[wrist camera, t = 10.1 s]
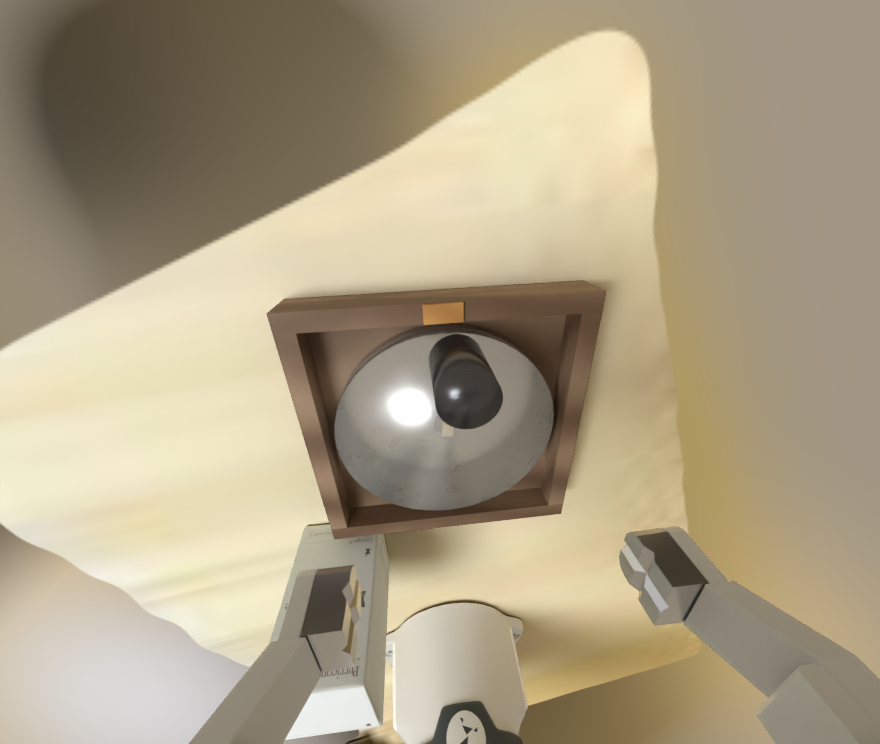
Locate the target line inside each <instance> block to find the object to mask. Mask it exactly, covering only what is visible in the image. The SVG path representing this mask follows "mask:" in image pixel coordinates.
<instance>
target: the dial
mask: <svg viewBox="0 0 880 744" xmlns="http://www.w3.org/2000/svg"><path fill="white" fill-rule="evenodd" d="M553 418H554V410H553V401H552V397H551V394H550V390H549V388H548V386H547V384H546V382H545V379H544V378H543V376H542V375H541V374H540V372H539V371H538V369H537V368H536V367H535V365H534V364H533V363H532V361H531V360H530V359H529V358H528V357H527V356H526V354H525V353H524V352H523V351H522V350H521V349H520V348H519V347H517V346H516V345H515V344H513V343H512V342H511V341H509V340H508V339H506V338H504V337H502V336H501V335H499V334H497V333H494V332H492V331H489V330H487V329H484V328H480V327H476V326H471V325H464V324H455V323H454V324H434V325H427V326H422V327H418V328H415V329H411V330H408V331H405V332H403V333H401V334H398V335H396V336H394V337H392V338H390V339H388V340H387V341H385V342H383V343H381V344H380V345H379V346H377V347H376V348H375V349H373V350H372V351H371V352H370V353H368V354H367V355H366V356H365V357H364V358H363V360H362V361H361V362H360V363H359V364H358V365H357V366H356V368H355V369H354V371H353V372H352V373H351V375H350V377H349V379H348V381H347V383H346V384H345V387H344V390H343V393H342V396H341V399H340V402H339V405H338V408H337V412H336V418H335V441H336V447H337V450H338V453H339V456H340V458H341V460H342V462H343V464H344V466H345V468H346V469H347V470H348V472H349V473H350V474H351V476H352V477H353V478H354V479H355V480H356V481H357V482H358V483H359V484H360V485H361V486H362V487H364V488H365V489H366V490H368V491H369V492H370V493H372V494H374V495H376V496H377V497H379V498H381V499H383V500H385V501H388V502H390V503H393V504H396V505H399V506H402V507H407V508H412V509H419V510H436V511H439V510H452V509H458V508H464V507H467V506H471V505H475V504H478V503H481V502H484V501H486V500H489V499H491V498H493V497H495V496H497V495H499V494H501V493H502V492H504V491H506V490H508V489H509V488H511V487H512V486H513V485H515V484H516V483H517V482H519V481H520V480H521V479H522V478H523V477H524V476H525V475H527V473H528V472H529V471H530V470H531V469H532V468H533V467H534V466H535V464H536V463H537V461H538V460H539V459H540V457H541V456H542V454H543V452H544V450H545V448H546V446H547V444H548V441H549V439H550V436H551V432H552V427H553Z"/></svg>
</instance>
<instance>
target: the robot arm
mask: <svg viewBox="0 0 880 744" xmlns="http://www.w3.org/2000/svg"><path fill="white" fill-rule="evenodd" d="M624 540H625V542H626V543H627V545H626V546H625V547H624V548H622V549H621V552H620V556H619V559H620V565H621V568H622V571H623V573H624V575H625V577H626V579H627V581H628V582H629V584H630V585H632V586H633V587H634V588H636V589H637V590H638V591H639V601H640V603H641V604H642V606H643V608H644V609H645V611H646V613H647V614H648V616H649V617H650V619H651V621H652V622H653V624H654V625H663V624H673V623H682V622H684V625H685V626H686V627H687V628H688V629H690V630H691V631H692V632H693V633H694V634H695V635H697V636H698V637H699V638H700V639H701V640H702V641H704V642H705V643H706V644H707V645H708V646H709V647H710V648H712V649H713V650H714V651H715V652H716V653H717V654H718V655H720V656H721V657H722V658H723V659H724V660H725V661H727V662H728V663H729V664H730V665H731V666H733V667H734V668H735V669H736V670H737V671H738V672H739V673H740V674H742V675H743V676H744V677H745V678H746V679H748V680H749V681H750V682H751V683H752V684H753V685H754V686H755V687H757V688H758V689H759V690H760V691H761V692H762V693H764V694H765V695H766V696H767V697H768V699H767V700H766V701H765V702H764V703H763V704H762V705H761V706H760V707H759V708H758V711H757V717H758V718H759V720H760V721H761V723H762V724H763V726H764V727H765V729H766V730H767V731H768V733H769V734H770V736H771V737H772V739H773V740H774V742H775V743H776V744H880V679H879V678H878V677H877V676H876V675H875V674H874V673H873V672H872V671H871V670H870V669H869V668H868V667H867V666H866V665H865V664H864V663H863V662H862V661H861V660H860V659H859V658H858V657H856V656H855V655H854V654H852V653H851V652H849V651H847V650H846V649H844V648H843V647H841V646H839V645H838V644H836V643H834V642H833V641H831V640H829V639H828V638H826V637H825V636H823V635H821V634H820V633H818V632H816V631H815V630H813V629H812V628H810V627H808V626H807V625H805V624H803V623H802V622H800V621H798V620H797V619H795V618H794V617H792V616H790V615H789V614H787V613H785V612H784V611H782V610H780V609H779V608H777V607H775V606H774V605H772V604H771V603H769V602H767V601H766V600H764V599H762V598H761V597H759V596H758V595H756V594H754V593H752V592H751V591H749V590H748V589H746V588H745V587H743V586H741V585H740V584H738V583H736V582H735V581H728V580H727V579H726V578H725V577H724V575H723V574H722V573H721V572H720V571H719V570H718V569H717V568H716V566H715V565H714V564H713V563H712V562H711V561H710V559H709V558H708V557H707V556H706V555H705V554H704V553H703V551H702V550H701V549H700V548H699V547H698V546H697V545H696V543H695V542H694V541H693V540H692V539H691V538H690V536H689V535H688V534H687V533H686V532H685V531H684V530H683V529H681V528H680V527H668V528H657V529H650V530H643V531H635V532H630V533H628V534H626V537H625V539H624ZM356 574H357V571H356V568H355V565H349V566H340V567H332V568H323V569H312V570H304V571H299V573H298V575H297V577H296V578H295V582H294V585H293V589H292V592H291V595H290V599H289V602H288V605H287V609H286V612H285V616H284V619H283V622H282V626H281V629H280V632H279V636H278V639H277V640H276V641H271V642H270V644H269V645H268V646H267V647H266V649H265V650H264V651H263V652H262V653H261V655H260V656H259V657H258V658H257V660H256V661H255V662H254V663H253V665H252V666H251V667H250V668H249V670H248V671H247V672H246V673H245V675H244V676H243V677H242V678H241V680H240V681H239V682H238V683H237V684H236V686H235V687H234V688H233V689H232V691H231V692H230V693H229V694H228V696H227V697H226V698H225V699H224V701H223V702H222V703H221V704H220V706H219V707H218V708H217V709H216V711H215V712H214V713H213V714H212V715H211V717H210V718H209V719H208V720H207V722H206V723H205V724H204V725H203V727H202V728H201V729H200V730H199V732H198V733H197V734H196V735H195V737H194V738H193V739H192V740H191V742H190V743H189V744H283V742H284V740H285V739H286V737H287V735H288V733H289V732H290V730H291V728H292V726H293V725H294V723H295V721H296V719H297V718H298V716H299V714H300V712H301V711H302V709H303V707H304V705H305V704H306V702H307V700H308V698H309V697H310V695H311V693H312V691H313V690H314V688H315V686H316V684H317V683H318V681H319V679H320V677H321V676H322V674H321V672H327V671H333V670H339V669H345V668H351V667H354V666H355V657H356V648H357V640H358V636H357V632H356V629H355V625H356V623H357V622H358V620H359V619H360V611H361V587H360V583H359V581H358V580H356ZM523 631H524V629H523V623H522V621H521V620H520V619H517V618H513V617H509V616H505V615H503V614H502V613H501V612H499V611H498V610H496V609H494V608H492V607H489V606H486V605H482V604H476V603H453V604H446V605H441V606H437V607H433V608H430V609H427V610H425V611H422V612H420V613H418V614H416V615H414V616H413V617H411V618H409V619H408V620H407V621H406V622H405V623H403V625H402V626H401V627H400V628H399V629H397V630H396V631H394V632H392V633H390V634H388V635H386V656H385V659H386V660H387V661H388V663H389V664H390V665H391V667H392V668H393V726H394V730H396V731H397V732H398V735H399V737H400V738H401V739H402V740H403V741H404V743H405V744H523V742H522V740H521V738H519V729H520V725H521V722H522V720H523V718H524V716H525V711H526V710H527V708H528V705H527V698H526V694H525V689H524V684H523V679H522V675H521V670H520V665H519V661H518V656H517V652H516V647H515V646H516V644H517V642H518V641H519V639H520V637H521V635H522V633H523Z"/></svg>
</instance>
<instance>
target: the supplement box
mask: <svg viewBox="0 0 880 744" xmlns="http://www.w3.org/2000/svg"><path fill="white" fill-rule="evenodd" d="M349 565H355V568H356V571H357V574H356V580H358V581H359V583H360V587H361V611H360V619H359V620H358V622H357V623H356V625H355V629H356V632H357V636H358V640H357V648H356V657H355V666H354V667H351V668H345V669H339V670H333V671H327V672H321V674H322V676H321V677H320V679H319V681H318V683H317V684H316V686H315V688H314V690H313V691H312V693H311V695H310V697H309V698H308V700H307V702H306V704H305V705H304V707H303V709H302V711H301V712H300V714H299V716H298V718H297V719H296V721H295V723H294V725H293V726H292V728H291V730H290V732H289V733H288V735H287V737H286V739H285V740H289V739H295V738H301V737H308V736H315V735H321V734H329V733H335V732H342V731H349V730H357V729H364V728H370V727H377V726H381V725H382V724H383V703H384V680H385V656H386V633H387V608H388V585H389V557H388V552H387V548H386V543H385V539H384V534H378V535H369V536H360V537H352V538H343V539H334V537H333V534H332V530H331V527H330V524H327V525H317V526H306V527H305V528H304V531H303V534H302V537H301V541H300V544H299V547H298V551H297V554H296V557H295V560H294V564H293V567H292V570H291V574H290V577H289V580H288V584H287V587H286V590H285V594H284V597H283V600H282V603H281V607H280V610H279V613H278V616H277V620H276V623H275V626H274V629H273V633H272V636H271V639H270V642H271V641H276V640H277V639H278V636H279V632H280V629H281V626H282V622H283V619H284V616H285V612H286V609H287V605H288V602H289V599H290V595H291V592H292V589H293V585H294V582H295V578H296V577H297V575H298V573H299V571H304V570H312V569H323V568H332V567H340V566H349ZM270 642H269V644H270Z"/></svg>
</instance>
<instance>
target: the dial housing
mask: <svg viewBox="0 0 880 744" xmlns="http://www.w3.org/2000/svg"><path fill="white" fill-rule="evenodd" d="M605 296H606V291H604V290H602V289H600V288H598V287H595V286H593V285H591V284H589V283H587V282H585V281H567V282H551V283H535V284H519V285H503V286H487V287H471V288H455V289H439V290H423V291H407V292H391V293H375V294H360V295H344V296H328V297H312V298H296V299H283V300H282V301H281V302H280V303H279V304H277V305H276V306H275V307H274V308H273V309H272V310H270V311H269V312H268V313H267V317H268V320H269V323H270V327H271V330H272V333H273V337H274V340H275V343H276V347H277V350H278V353H279V357H280V360H281V363H282V367H283V370H284V373H285V377H286V380H287V383H288V387H289V390H290V393H291V397H292V400H293V404H294V407H295V410H296V414H297V417H298V420H299V424H300V427H301V430H302V434H303V437H304V440H305V444H306V447H307V450H308V454H309V457H310V460H311V464H312V467H313V470H314V474H315V477H316V480H317V484H318V487H319V490H320V494H321V497H322V500H323V504H324V507H325V510H326V514H327V517H328V520H329V524H330V527H331V530H332V534H333V537H334V539H343V538H352V537H360V536H369V535H378V534H387V533H396V532H404V531H413V530H422V529H431V528H439V527H448V526H457V525H466V524H475V523H483V522H492V521H501V520H510V519H518V518H527V517H536V516H545V515H554V514H561V511H562V506H563V501H564V496H565V491H566V486H567V481H568V476H569V472H570V467H571V462H572V457H573V452H574V447H575V442H576V437H577V432H578V428H579V423H580V418H581V413H582V408H583V403H584V398H585V393H586V388H587V384H588V379H589V374H590V369H591V364H592V359H593V354H594V349H595V344H596V340H597V335H598V330H599V325H600V320H601V315H602V310H603V305H604V300H605ZM454 323H455V324H464V325H471V326H476V327H480V328H484V329H487V330H489V331H492V332H494V333H497V334H499V335H501V336H502V337H504V338H506V339H508V340H509V341H511V342H512V343H513V344H515V345H516V346H517V347H519V348H520V349H521V350H522V351H523V352H524V353H525V354H526V356H527V357H528V358H529V359H530V360H531V361H532V363H533V364H534V365H535V367H536V368H537V369H538V371H539V372H540V374H541V375H542V376H543V378H544V379H545V382H546V384H547V386H548V388H549V390H550V394H551V397H552V401H553V410H554V418H553V427H552V432H551V436H550V439H549V441H548V444H547V446H546V448H545V450H544V452H543V454H542V456H541V457H540V459H539V460H538V461H537V463H536V464H535V466H534V467H533V468H532V469H531V470H530V471H529V472H528V473H527V475H525V476H524V477H523V478H522V479H521V480H520V481H519V482H517V483H516V484H515V485H513V486H512V487H511V488H509V489H508V490H506V491H504V492H502V493H501V494H499V495H497V496H495V497H493V498H491V499H489V500H486V501H484V502H481V503H478V504H475V505H471V506H467V507H464V508H458V509H452V510H439V511H436V510H419V509H412V508H407V507H402V506H399V505H396V504H393V503H390V502H388V501H385V500H383V499H381V498H379V497H377V496H376V495H374V494H372V493H370V492H369V491H368V490H366V489H365V488H364V487H362V486H361V485H360V484H359V483H358V482H357V481H356V480H355V479H354V478H353V477H352V476H351V474H350V473H349V472H348V470H347V469H346V468H345V466H344V464H343V462H342V460H341V458H340V456H339V453H338V450H337V447H336V441H335V418H336V412H337V408H338V405H339V402H340V399H341V396H342V393H343V390H344V387H345V384H346V383H347V381H348V379H349V377H350V375H351V373H352V372H353V371H354V369H355V368H356V366H357V365H358V364H359V363H360V362H361V361H362V360H363V358H364V357H365V356H366V355H367V354H368V353H370V352H371V351H372V350H373V349H375V348H376V347H377V346H379V345H380V344H381V343H383V342H385V341H387V340H388V339H390V338H392V337H394V336H396V335H398V334H401V333H403V332H405V331H408V330H411V329H415V328H418V327H422V326H427V325H434V324H454Z"/></svg>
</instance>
